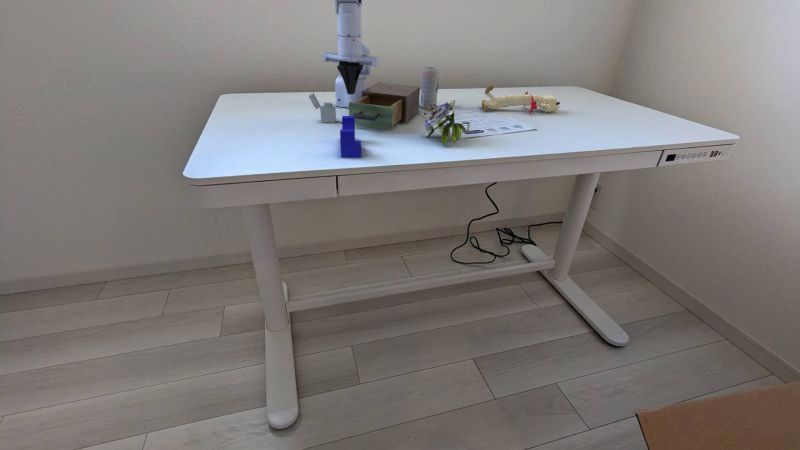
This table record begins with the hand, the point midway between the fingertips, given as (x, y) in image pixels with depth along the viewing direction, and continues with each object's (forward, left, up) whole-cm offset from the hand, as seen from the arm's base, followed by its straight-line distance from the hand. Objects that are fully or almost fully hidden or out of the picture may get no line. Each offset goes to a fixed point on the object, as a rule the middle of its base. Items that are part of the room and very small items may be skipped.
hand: (351, 93), depth 101 cm
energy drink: (+13, +31, -10) cm, 35 cm away
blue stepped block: (+6, -14, -10) cm, 18 cm away
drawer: (+5, +5, -8) cm, 11 cm away
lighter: (-10, +2, -10) cm, 14 cm away
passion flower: (+25, +2, -10) cm, 27 cm away
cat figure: (+42, +40, -10) cm, 59 cm away
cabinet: (+5, +18, -9) cm, 21 cm away
